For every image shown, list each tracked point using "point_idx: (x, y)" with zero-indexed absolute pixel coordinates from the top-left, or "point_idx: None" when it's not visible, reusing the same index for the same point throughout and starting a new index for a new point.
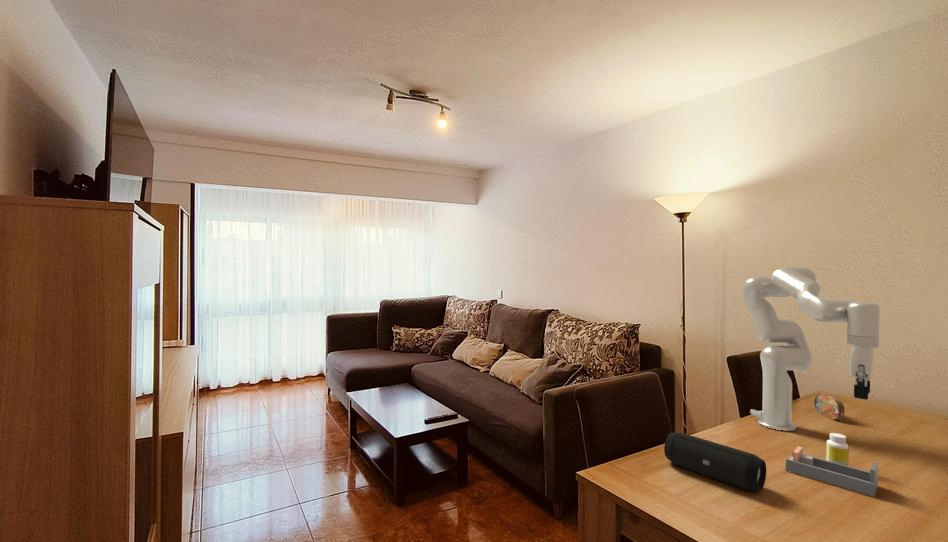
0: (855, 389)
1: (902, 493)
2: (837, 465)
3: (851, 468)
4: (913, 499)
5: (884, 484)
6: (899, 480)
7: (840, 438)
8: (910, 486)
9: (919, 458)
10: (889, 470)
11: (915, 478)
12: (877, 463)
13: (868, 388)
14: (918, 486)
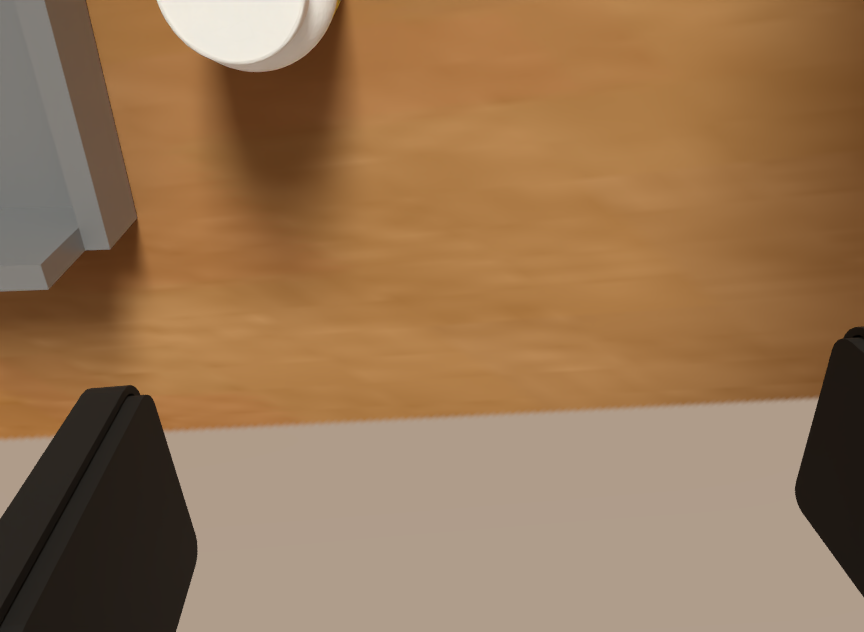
0: (4, 556)
1: (156, 314)
2: (22, 13)
3: (48, 107)
4: (122, 354)
5: (206, 239)
6: (354, 287)
7: (170, 23)
8: (307, 331)
9: (851, 325)
10: (488, 234)
11: (464, 337)
12: (33, 288)
13: (849, 568)
14: (345, 355)
